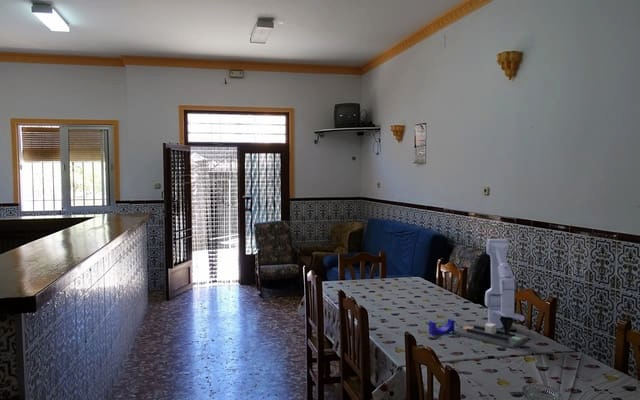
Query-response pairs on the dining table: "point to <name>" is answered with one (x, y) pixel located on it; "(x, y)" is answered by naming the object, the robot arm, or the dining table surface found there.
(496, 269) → the robot arm
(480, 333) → the breaker panel
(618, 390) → the dining table surface
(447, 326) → the cable clip
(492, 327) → the switch handle
